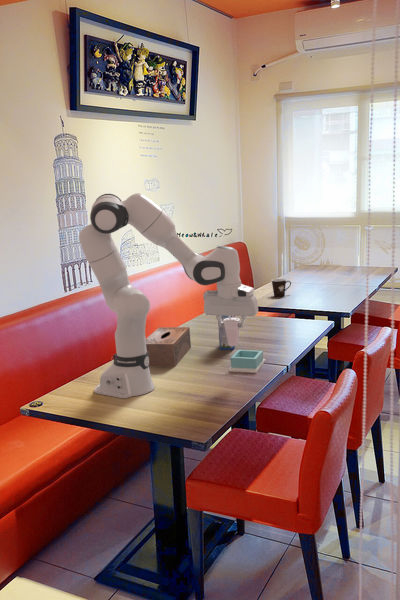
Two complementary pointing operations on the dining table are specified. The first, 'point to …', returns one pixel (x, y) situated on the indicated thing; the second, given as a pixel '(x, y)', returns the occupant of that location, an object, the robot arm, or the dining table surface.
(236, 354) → the holder board
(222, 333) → the milk carton
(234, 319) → the smoothie
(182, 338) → the tissue box cover
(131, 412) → the dining table surface
